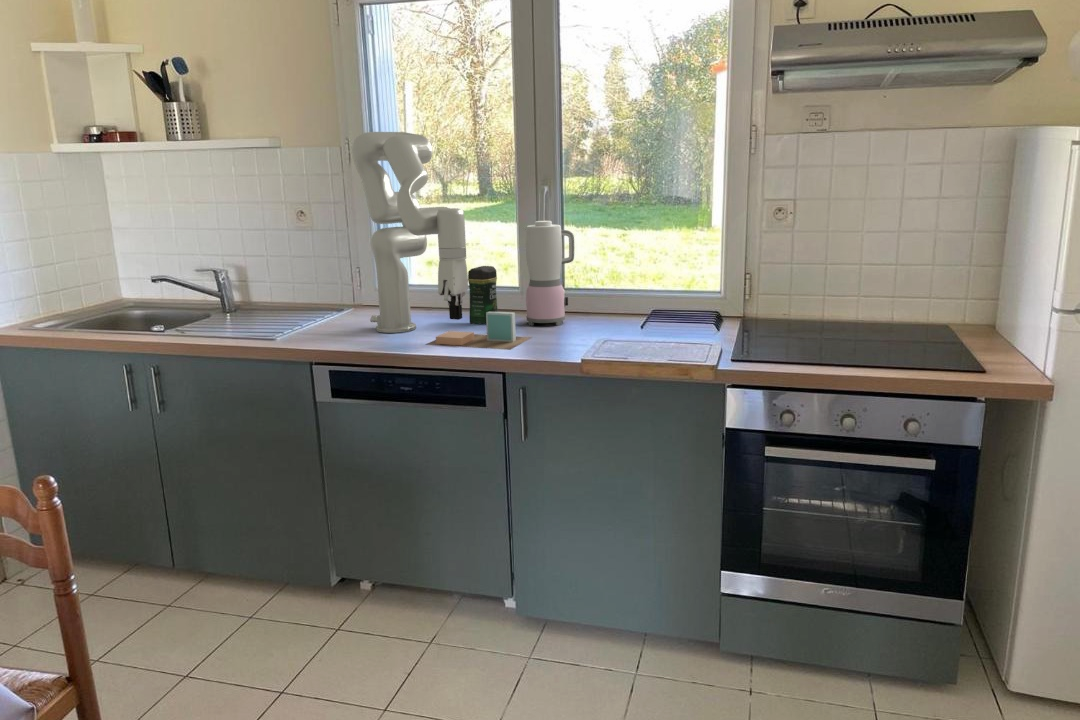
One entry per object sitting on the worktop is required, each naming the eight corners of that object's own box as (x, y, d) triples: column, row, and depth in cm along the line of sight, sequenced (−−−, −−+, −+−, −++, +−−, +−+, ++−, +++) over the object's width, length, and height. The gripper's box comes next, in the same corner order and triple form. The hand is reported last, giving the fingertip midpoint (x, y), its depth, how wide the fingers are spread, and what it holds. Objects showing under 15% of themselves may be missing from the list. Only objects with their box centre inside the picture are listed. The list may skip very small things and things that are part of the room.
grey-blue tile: (487, 340, 232) (485, 312, 230) (490, 338, 234) (488, 311, 232) (512, 342, 229) (511, 313, 227) (515, 340, 231) (514, 312, 229)
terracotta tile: (449, 338, 236) (436, 344, 229) (449, 331, 235) (435, 336, 228) (474, 339, 233) (461, 345, 226) (474, 332, 233) (461, 338, 225)
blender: (525, 327, 253) (522, 223, 246) (526, 319, 265) (523, 220, 258) (576, 326, 253) (574, 221, 246) (574, 318, 265) (573, 219, 258)
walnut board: (425, 347, 229) (425, 344, 229) (451, 336, 244) (451, 332, 243) (510, 353, 220) (510, 349, 220) (532, 340, 234) (532, 337, 234)
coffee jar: (488, 328, 254) (485, 268, 250) (466, 326, 258) (463, 267, 253) (502, 322, 263) (500, 264, 258) (481, 320, 266) (478, 264, 262)
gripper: (452, 250, 234) (456, 313, 238) (427, 256, 221) (431, 323, 225) (476, 251, 231) (479, 314, 236) (452, 257, 218) (455, 324, 222)
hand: (456, 318), depth 230 cm, fingers closed
